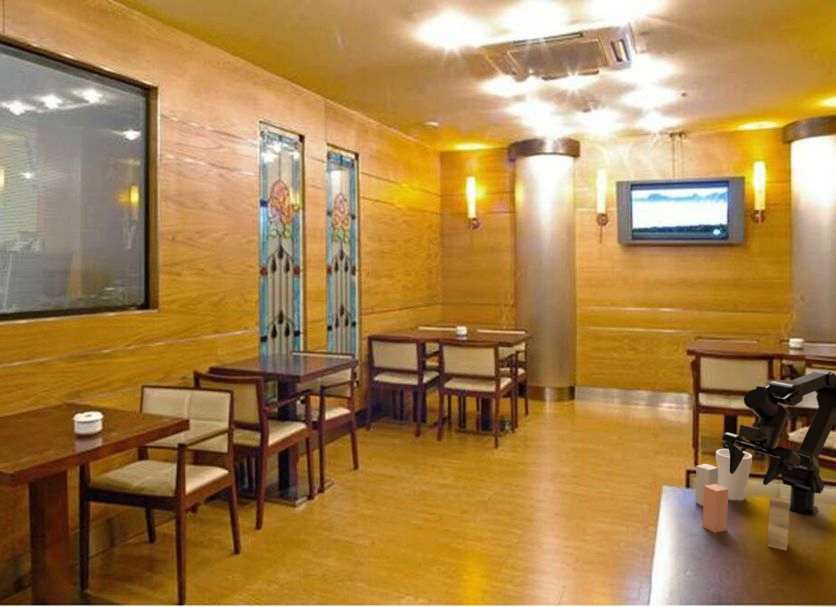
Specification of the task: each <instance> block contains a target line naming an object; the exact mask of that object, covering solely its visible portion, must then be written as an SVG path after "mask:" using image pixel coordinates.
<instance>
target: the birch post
mask: <svg viewBox="0 0 836 607" xmlns="http://www.w3.org/2000/svg"><path fill="white" fill-rule="evenodd" d="M768 508H769V509H768V511H769V512H768V531H767V534H768V535H767V547H770V548H773V549H778V550H784V551H787V549H788V545H789V529H790V510H789V509H790V499H789V500H788V499H783V498H777V497H773V496H771V497H770V500H769V507H768Z"/></svg>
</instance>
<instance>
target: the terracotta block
mask: <svg viewBox="0 0 836 607" xmlns="http://www.w3.org/2000/svg"><path fill="white" fill-rule="evenodd" d="M728 502H729V500H728V489H727V488H725V487H722V486H720V485H719V484H718V485H717V484H711V485H706V486H704V503H703V506H702V507H703V509H702V528H704V529H706V530H709V531H710V532H712V533H714V534H717V532H718V533H722V532H726V531H727V529H728V528H727V527H728V506H729V504H728Z"/></svg>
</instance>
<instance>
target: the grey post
mask: <svg viewBox="0 0 836 607" xmlns="http://www.w3.org/2000/svg"><path fill="white" fill-rule="evenodd" d="M695 476H696V477H695V501H694V503H695V504H696V503H698V504H700V505H699V506H701V505H703V503H704V486H706V485H711V484H717V485H719V479H718V467H717V466H714V465H712V464H708V463H703V464H699V465H696V473H695ZM698 504H697V505H698Z"/></svg>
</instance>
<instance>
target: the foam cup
mask: <svg viewBox="0 0 836 607" xmlns="http://www.w3.org/2000/svg"><path fill="white" fill-rule="evenodd" d="M743 453H744V454H745V455H744V457H743V459H742V460H741V462H740V464H739V466H738V467H737V469H736V471H735V472H734V473H733V474H731V473H730V452H729V449H728V448H719V449H717V450H716V451H715V461H716V467H718V485H720V486H722V487H725V488H727V489H728V499H730V500H729V501H731V500H742V501H744V500H745V497H746V492H747V487H748V481H749V477H750V471H751V466H752V464H753V455H752V454H751V453H749V452H747V451H746V450H745V451H743ZM743 499H744V500H743Z"/></svg>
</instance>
